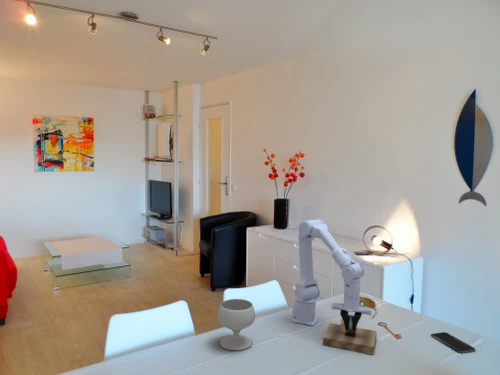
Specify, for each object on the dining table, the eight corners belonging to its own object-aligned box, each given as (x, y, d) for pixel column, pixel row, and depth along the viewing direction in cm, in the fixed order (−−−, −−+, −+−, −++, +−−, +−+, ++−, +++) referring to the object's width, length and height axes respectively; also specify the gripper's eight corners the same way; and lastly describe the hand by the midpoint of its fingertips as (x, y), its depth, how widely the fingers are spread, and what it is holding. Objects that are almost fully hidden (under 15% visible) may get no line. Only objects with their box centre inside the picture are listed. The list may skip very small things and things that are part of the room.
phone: (459, 352, 141) (429, 334, 155) (459, 355, 141) (429, 336, 155) (477, 349, 143) (445, 331, 158) (476, 352, 143) (445, 334, 158)
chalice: (209, 343, 146) (209, 304, 145) (236, 331, 156) (236, 295, 155) (236, 356, 136) (236, 315, 135) (262, 343, 147) (263, 304, 146)
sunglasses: (377, 307, 185) (378, 297, 184) (375, 324, 171) (376, 313, 170) (347, 303, 190) (347, 293, 189) (342, 319, 176) (342, 309, 175)
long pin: (346, 337, 148) (347, 316, 148) (347, 334, 151) (348, 314, 150) (353, 338, 147) (353, 317, 147) (354, 335, 150) (354, 315, 149)
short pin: (340, 330, 159) (340, 320, 159) (341, 327, 161) (341, 318, 161) (346, 331, 158) (346, 321, 158) (347, 328, 161) (347, 319, 160)
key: (407, 340, 153) (389, 324, 167) (407, 338, 152) (389, 322, 167) (393, 340, 152) (376, 323, 167) (393, 337, 152) (376, 321, 167)
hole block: (322, 345, 146) (323, 337, 146) (329, 330, 159) (330, 323, 159) (373, 355, 139) (373, 346, 139) (376, 338, 152) (376, 331, 152)
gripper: (330, 295, 147) (329, 331, 148) (370, 301, 141) (369, 338, 142) (333, 290, 153) (332, 323, 154) (372, 295, 148) (371, 330, 149)
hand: (350, 330), depth 149 cm, fingers closed on long pin, 2 cm apart
